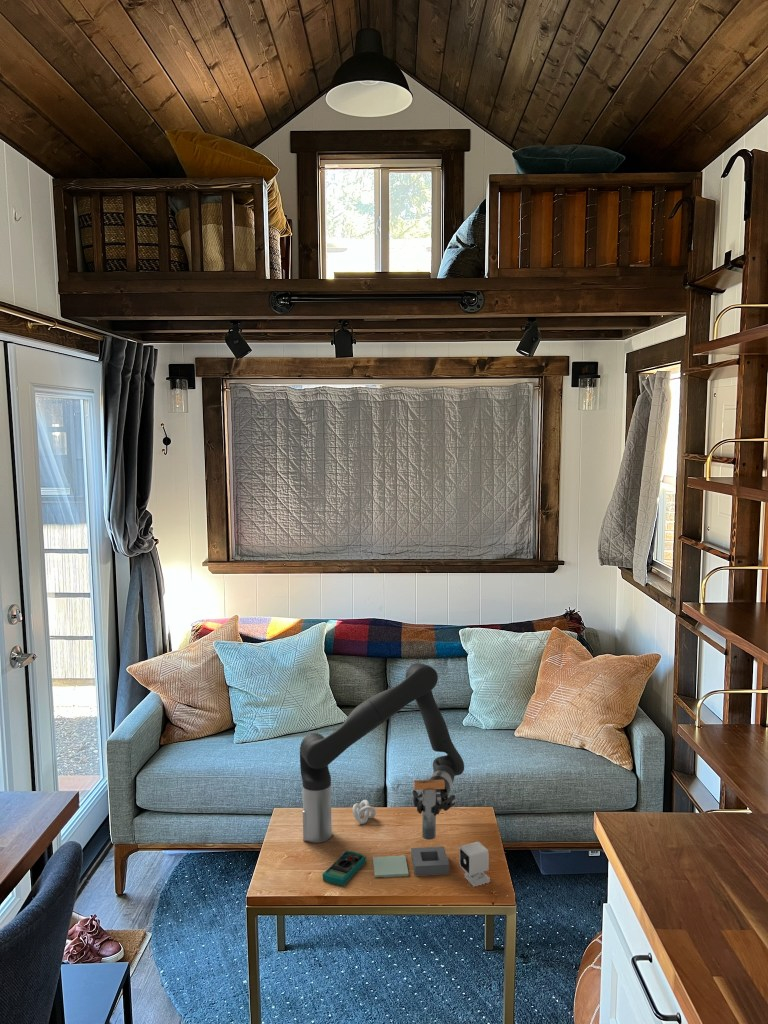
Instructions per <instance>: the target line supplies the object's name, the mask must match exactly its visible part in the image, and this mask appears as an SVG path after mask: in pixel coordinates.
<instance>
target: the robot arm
mask: <svg viewBox="0 0 768 1024" xmlns="http://www.w3.org/2000/svg"><path fill="white" fill-rule="evenodd" d="M438 677H439V676H438V672H437V671H436V669H434V668H433V667H432V666H430V665H428V664H424V663H421V662H416V663H412V664H411V665H409V666H408V668H407V669H406V673H405V679H404V680H402V681H401V682H399V683H398V684H396V685H395V686H393V687H391V688H388V689H386V690H382V691H380V692H378V693H375V694H374V695H372V696H370V697H368V698H367V699H365V700H364V701H362V702H361V703H360V704H357V706H356V707H355V708H353V709H352V711H351V712H350V713H349V714H348V716H347V717H346V719H345V720H344V722H342V724H341V725H340V726H339V727H338V728H336V729H335V731H333V732H332V733H330V734H329V735H327V736H323V735H322V734H320V733H317V732H312V733H309V734H307V735H305V737H303V739H302V741H301V742H300V745H299V766H300V768H299V769H300V775H301V780H302V781H301V782H302V783H301V784H302V837H303V838H302V841H303V842H304V841H305V842H309V843H324V842H326V841H328V840H330V839H331V838H332V835H333V833H332V832H333V827H332V826H333V825H332V824H333V823H332V776H331V772H330V770H329V765H330V764H331V763H332V762H333V761H335V760H336V759H338V757H339V756H341V754H343V753H344V752H345V751H346V750H347V749H349V748H350V747H351V746H352V745H353V744H355V743H357V742H358V741H359V740H361V739H362V738H363V737H365V736H366V735H367V734H369V733H370V732H373V731H374V730H375V729H376V728H378V727H380V726H381V725H382V724H384V723H385V722H386V721H387V720H389V719H391V717H393V716H394V715H396V714H397V713H399V711H401V710H403V708H405V707H406V706H407V705H409V704H410V703H412V702H413V701H415V702H416V704H417V707H418V710H419V711H420V714H421V717H422V720H423V724H424V727H425V730H426V733H427V737H428V739H429V743H430V746H431V748H432V750H433V751H434V752H438V753H445V754H446V755H441V756H438V757H436V758H434V760H433V761H432V770H433V772H432V774H431V776H430V777H429V779H428V780H444V782H445V789H436V805H435V807H434V816H436V817H437V815H439V814H440V812H441V811H442V810H443V811H448V810H449V809H451V808H452V807H453V806H455V804H456V795H454V794H453V795H451V796H449V795H450V793H451V790H452V786H453V782H454V780H455V777H456V776H461V775H462V774H463V773H464V771H465V762H464V760H463V758H462V756H461V754H460V753H459V751H458V750H457V748H456V746H455V745H454V744H453V742H452V738H451V735H450V733H449V730H448V726H447V724H446V721H445V718H444V717H443V715H442V712H441V711H440V709H439V706H438V705H437V702H436V700H435V697H434V695H433V690H434V688H435V687H436V685H437V683H438V679H439V678H438ZM417 791H418V790H415V789H413V790H412V802H413V807H414V808H415V807H416V812H418V814H420V815H421V814H422V807H423V790H421V792H417Z"/></svg>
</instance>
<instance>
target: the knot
mask: <svg viewBox="0 0 768 1024" xmlns="http://www.w3.org/2000/svg"><path fill="white" fill-rule="evenodd" d="M352 814H353V817H354V820H356V822H357V823H358V824H361V825H364V824H366V823H367V821H368V819H374V818H375V816H376V814H377V812H376V809H375V808H374V807H373V806H370V802H369V800H367V799H363V800H361V802H360V803H357V802H356V803H354V804H353V806H352ZM362 815H363V818H361V817H362Z"/></svg>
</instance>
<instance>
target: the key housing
mask: <svg viewBox="0 0 768 1024" xmlns="http://www.w3.org/2000/svg"><path fill="white" fill-rule="evenodd" d="M410 855H411V856H410V860H411V862H412V863H411V864H412V868H413V872H414V876H415V877H420V876H421V877H425V876H439V875H441V876H443V875H450V862H449V858H448V856H447V855H448V854H447V853H446V849H445V846H427V847H425V846H424V847H411V848H410Z"/></svg>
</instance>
